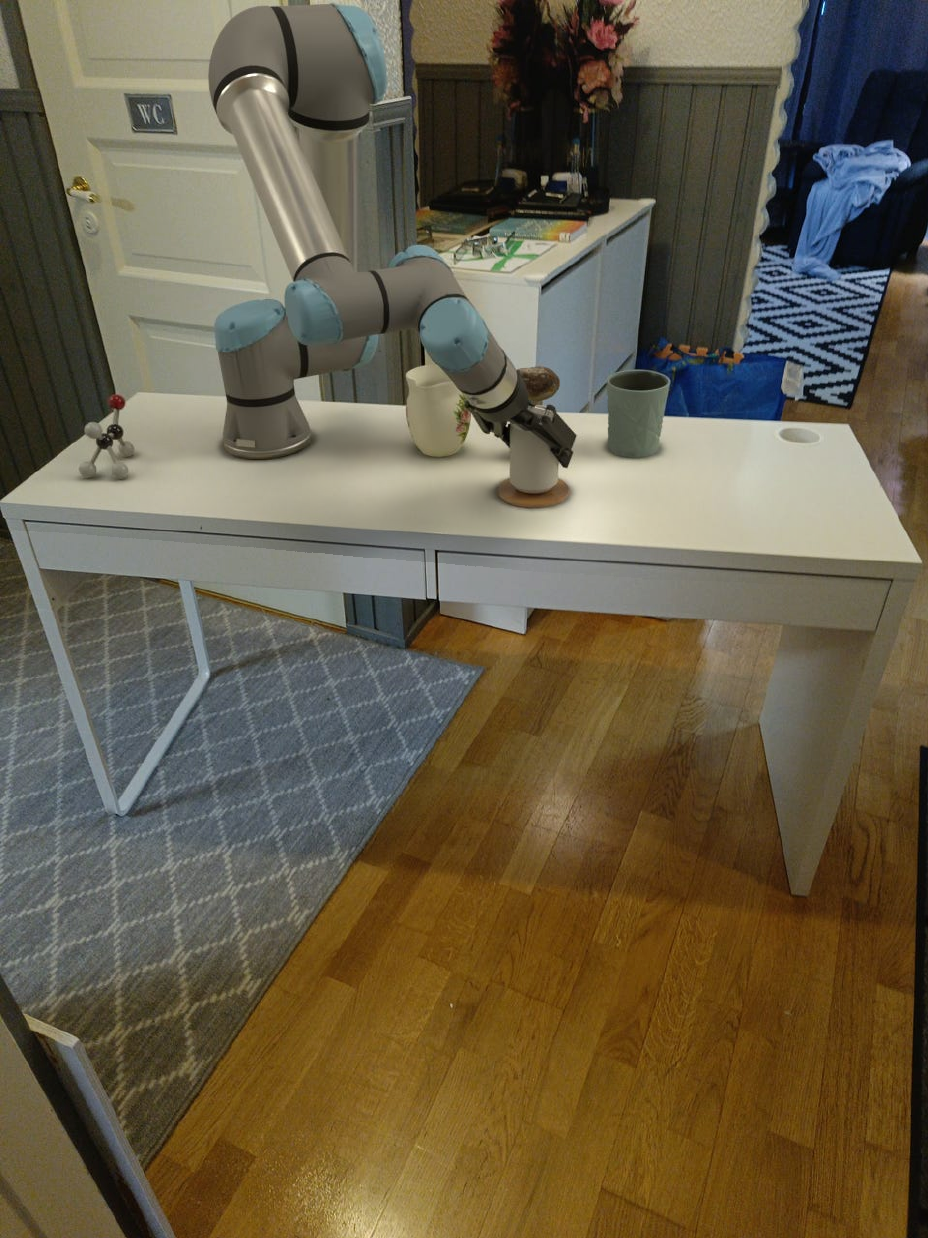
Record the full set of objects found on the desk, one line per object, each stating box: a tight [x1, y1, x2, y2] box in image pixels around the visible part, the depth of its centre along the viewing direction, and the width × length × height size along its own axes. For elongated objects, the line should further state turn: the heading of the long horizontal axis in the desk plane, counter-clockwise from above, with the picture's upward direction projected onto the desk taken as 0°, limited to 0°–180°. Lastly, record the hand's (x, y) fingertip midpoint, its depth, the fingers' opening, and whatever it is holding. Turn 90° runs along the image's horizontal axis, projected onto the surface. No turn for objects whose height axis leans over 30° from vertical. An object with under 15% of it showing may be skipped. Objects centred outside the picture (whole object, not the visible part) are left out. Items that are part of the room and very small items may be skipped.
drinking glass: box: [606, 369, 671, 459], centre depth 147 cm, size 10×10×12 cm
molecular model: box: [78, 393, 135, 480], centre depth 146 cm, size 8×12×11 cm
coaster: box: [497, 477, 570, 509], centre depth 137 cm, size 11×11×1 cm
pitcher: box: [405, 363, 472, 458], centre depth 149 cm, size 11×18×14 cm, turn 165°
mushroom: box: [516, 366, 561, 405], centre depth 144 cm, size 9×9×15 cm
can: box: [509, 404, 560, 493], centre depth 133 cm, size 8×8×12 cm
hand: (544, 454), depth 137 cm, fingers closed on can, 7 cm apart
